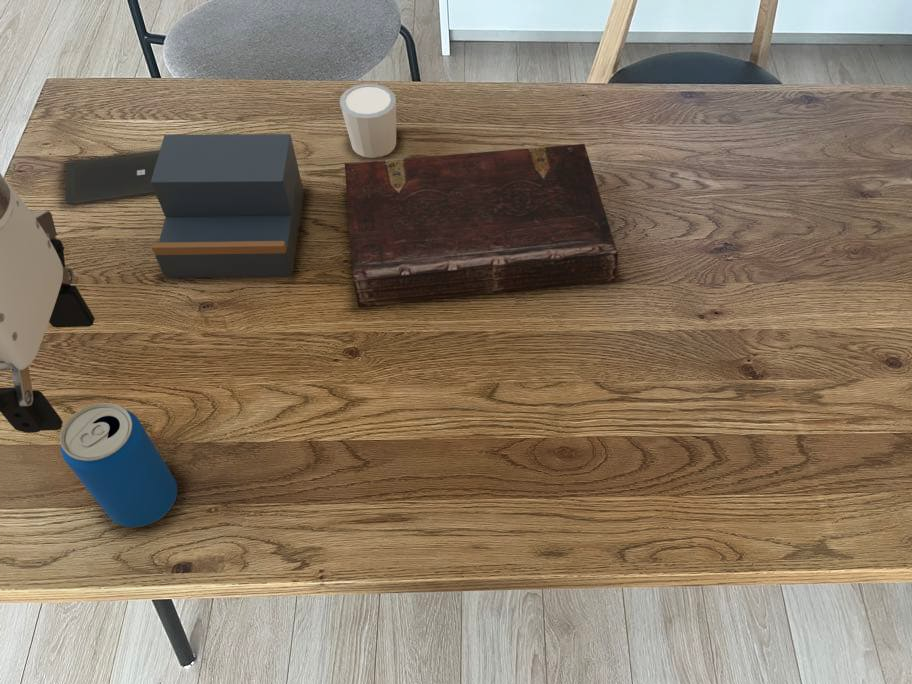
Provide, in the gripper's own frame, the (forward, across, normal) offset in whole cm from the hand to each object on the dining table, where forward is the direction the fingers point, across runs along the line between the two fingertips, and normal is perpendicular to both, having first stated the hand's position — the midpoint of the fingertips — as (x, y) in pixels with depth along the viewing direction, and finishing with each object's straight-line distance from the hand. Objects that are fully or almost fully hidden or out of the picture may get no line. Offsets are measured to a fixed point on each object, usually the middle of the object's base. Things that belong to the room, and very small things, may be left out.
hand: (58, 373), depth 65 cm
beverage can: (+20, 0, 0) cm, 20 cm away
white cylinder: (+20, -51, +18) cm, 58 cm away
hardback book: (+20, -34, +32) cm, 51 cm away
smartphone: (+20, -45, -10) cm, 51 cm away
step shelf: (+20, -35, +4) cm, 41 cm away
